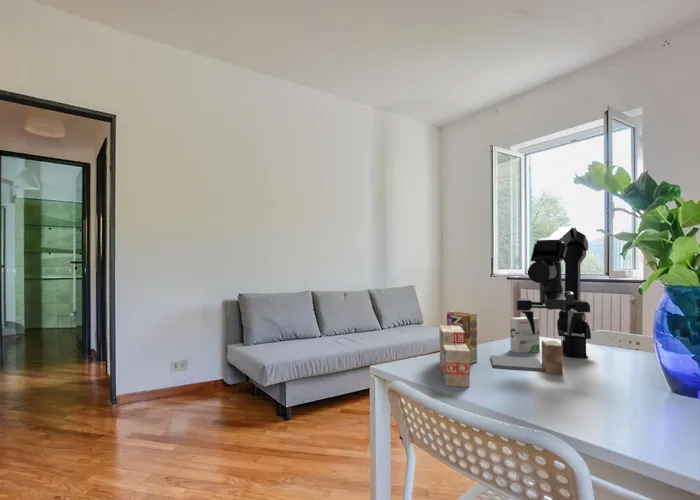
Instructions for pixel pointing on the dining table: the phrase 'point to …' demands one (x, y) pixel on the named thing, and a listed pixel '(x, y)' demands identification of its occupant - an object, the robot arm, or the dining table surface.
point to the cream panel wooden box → (552, 357)
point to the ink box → (524, 335)
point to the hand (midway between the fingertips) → (551, 335)
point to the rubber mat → (517, 363)
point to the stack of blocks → (454, 356)
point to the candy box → (466, 329)
